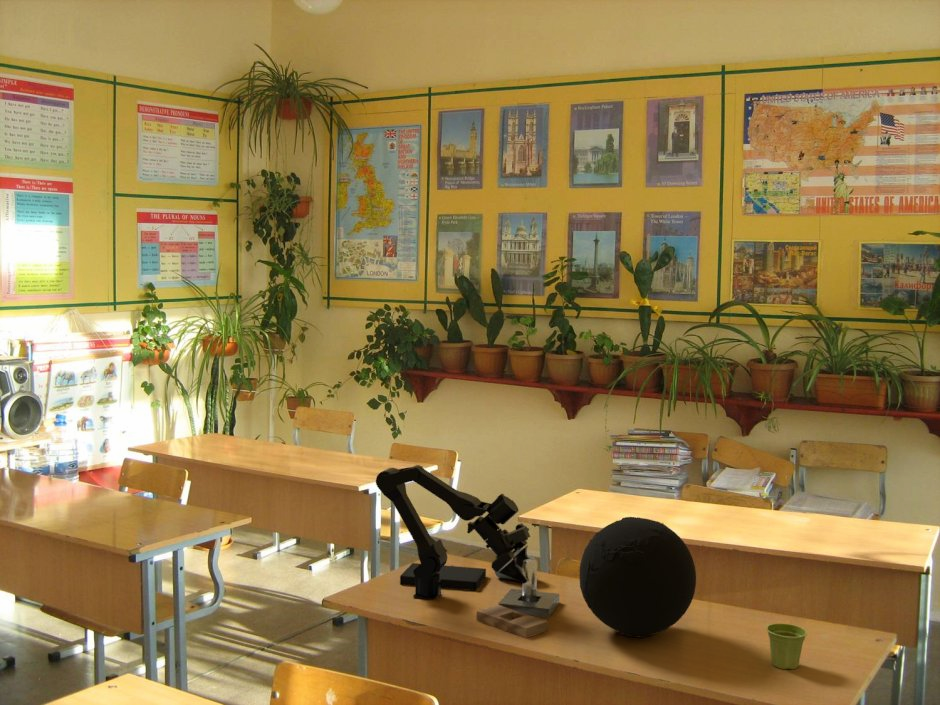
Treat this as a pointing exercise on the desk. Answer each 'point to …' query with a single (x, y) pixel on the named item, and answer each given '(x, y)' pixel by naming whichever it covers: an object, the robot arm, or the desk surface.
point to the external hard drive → (450, 577)
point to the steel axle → (529, 580)
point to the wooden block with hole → (511, 621)
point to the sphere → (637, 576)
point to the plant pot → (786, 644)
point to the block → (531, 603)
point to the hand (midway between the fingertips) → (529, 577)
